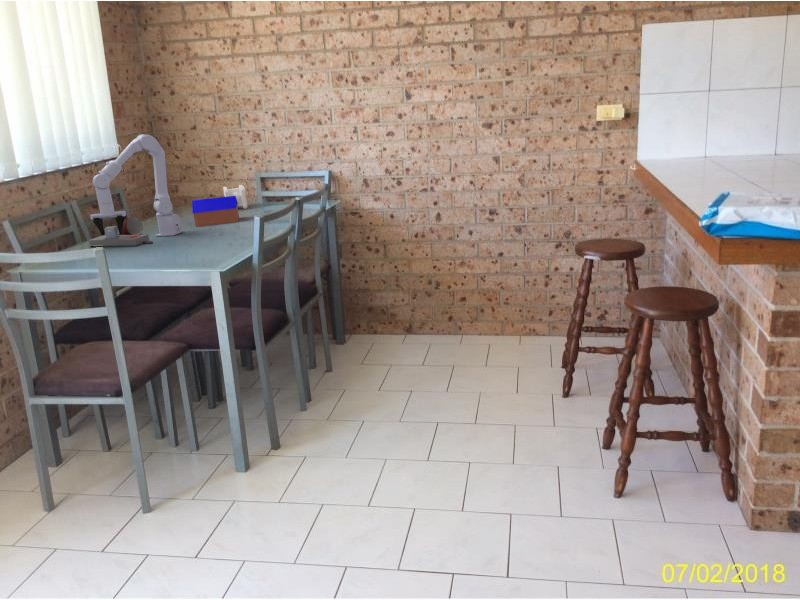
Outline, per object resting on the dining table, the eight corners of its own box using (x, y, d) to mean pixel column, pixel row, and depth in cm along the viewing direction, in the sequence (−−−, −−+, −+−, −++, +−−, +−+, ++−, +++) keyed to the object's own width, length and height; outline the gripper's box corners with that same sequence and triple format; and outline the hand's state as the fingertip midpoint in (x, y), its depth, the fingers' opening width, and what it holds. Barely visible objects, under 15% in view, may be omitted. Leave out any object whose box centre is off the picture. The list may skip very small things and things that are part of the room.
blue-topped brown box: (238, 222, 347) (234, 197, 343) (195, 227, 344) (190, 202, 341) (240, 217, 358) (236, 193, 355) (197, 222, 356) (193, 198, 352)
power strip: (159, 240, 319) (157, 232, 318) (146, 245, 311) (144, 237, 310) (104, 242, 328) (102, 234, 327) (90, 247, 320) (88, 238, 319)
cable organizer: (226, 208, 391) (222, 186, 388) (246, 205, 394) (242, 183, 390) (227, 212, 377) (224, 189, 374) (248, 209, 380) (245, 186, 376)
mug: (122, 245, 339) (133, 243, 333) (108, 233, 335) (119, 231, 328) (134, 228, 344) (146, 225, 338) (121, 216, 340) (132, 213, 333)
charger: (120, 241, 323) (116, 225, 321) (116, 243, 319) (113, 227, 317) (110, 242, 323) (107, 226, 321) (107, 244, 319) (104, 228, 317)
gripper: (125, 199, 320) (131, 230, 324) (91, 203, 320) (98, 233, 324) (120, 202, 313) (126, 233, 317) (85, 205, 313) (92, 237, 317)
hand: (112, 234), depth 320 cm, fingers open, 7 cm apart
